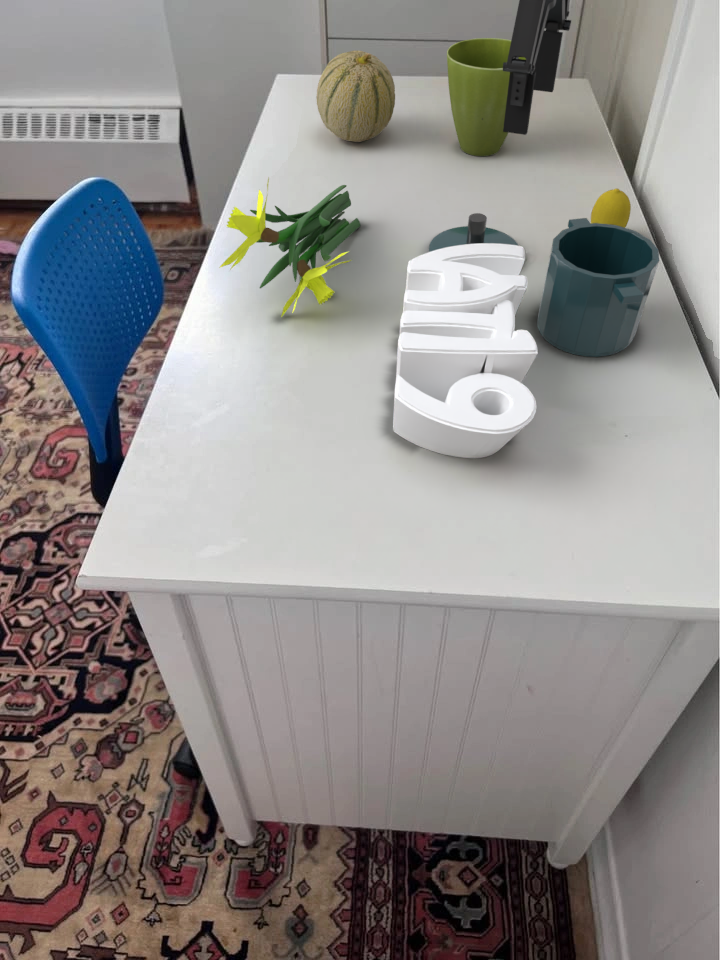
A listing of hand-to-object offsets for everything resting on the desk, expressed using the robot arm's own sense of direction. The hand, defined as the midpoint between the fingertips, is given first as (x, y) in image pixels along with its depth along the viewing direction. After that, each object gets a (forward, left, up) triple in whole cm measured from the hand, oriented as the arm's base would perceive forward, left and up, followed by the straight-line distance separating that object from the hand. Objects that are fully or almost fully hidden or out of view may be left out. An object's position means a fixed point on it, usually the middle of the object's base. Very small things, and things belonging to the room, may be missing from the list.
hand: (529, 110), depth 87 cm
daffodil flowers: (+28, -6, -23) cm, 37 cm away
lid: (+3, -6, -22) cm, 23 cm away
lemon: (-18, -7, -23) cm, 30 cm away
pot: (-7, +14, -23) cm, 28 cm away
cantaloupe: (+14, -51, -23) cm, 58 cm away
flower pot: (-8, -42, -23) cm, 49 cm away
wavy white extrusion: (+12, +21, -23) cm, 33 cm away
